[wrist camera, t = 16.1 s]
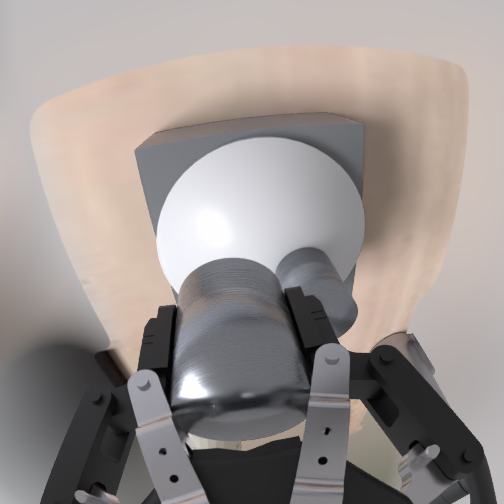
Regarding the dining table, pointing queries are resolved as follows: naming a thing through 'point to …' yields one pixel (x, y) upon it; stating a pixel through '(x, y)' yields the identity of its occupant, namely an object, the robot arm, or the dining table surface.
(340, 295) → the cylinder
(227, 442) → the kitchen timer
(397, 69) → the dining table surface
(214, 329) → the cylinder
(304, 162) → the scale
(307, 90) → the dining table surface
